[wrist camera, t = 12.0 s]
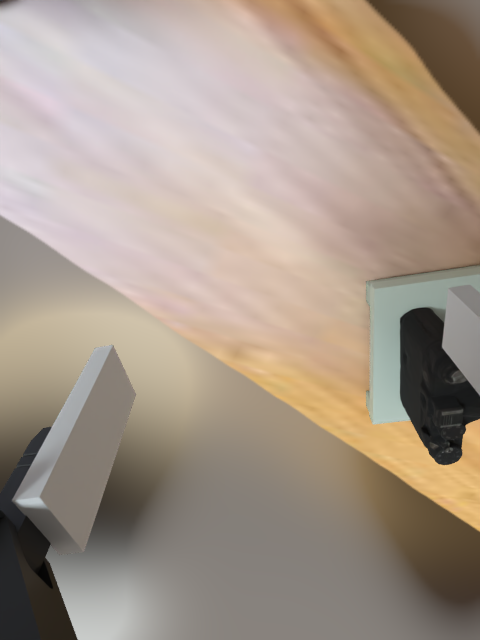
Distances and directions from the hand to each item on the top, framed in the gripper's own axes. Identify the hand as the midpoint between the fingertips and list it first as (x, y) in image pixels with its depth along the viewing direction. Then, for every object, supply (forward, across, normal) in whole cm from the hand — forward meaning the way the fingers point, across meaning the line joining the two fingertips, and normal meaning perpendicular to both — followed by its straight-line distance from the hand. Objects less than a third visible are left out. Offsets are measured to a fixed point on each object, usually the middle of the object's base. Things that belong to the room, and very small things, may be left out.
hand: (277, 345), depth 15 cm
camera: (+21, +17, -21) cm, 34 cm away
